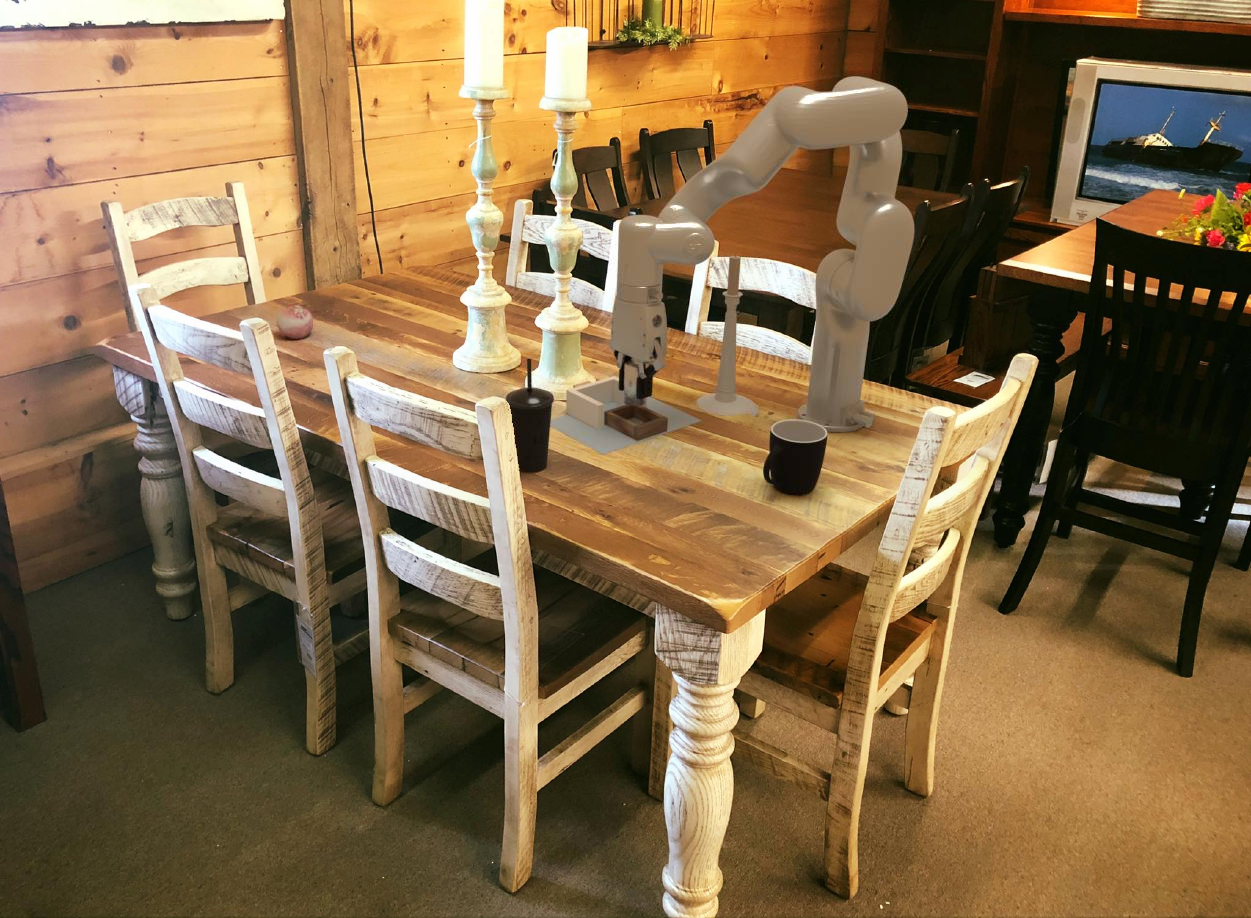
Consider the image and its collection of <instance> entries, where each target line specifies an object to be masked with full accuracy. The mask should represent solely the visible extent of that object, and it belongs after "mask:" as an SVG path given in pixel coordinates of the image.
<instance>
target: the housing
mask: <svg viewBox="0 0 1251 918" xmlns="http://www.w3.org/2000/svg"><path fill="white" fill-rule="evenodd" d="M572 386H573V387H571V388H568V389H566V391H565V392H566V393H565V394H566V395H565V396H566V401H565V402H566V405H565V407H566V408H565V409H566V414H570V415H572V416H574V417H575V418H577V419H579V420H581V421H583V422H585V423H587V424H589V425H591V426H593V427H595V428H597V429H601V428H604V404H608V403H611V402H615V403H617V404H620V405H622V406H624V405H627V404H625V403H624V402H623V398H624V391H620V390H619V376H616V375H614V376H613V375H612V376H610V377H606V378H603V379H598V380H596V381H590V380H586V381H584V382H580V383H576V384H573V385H572ZM642 406H644V407H646V408H647V397H646V403H645V404H644V405H642Z"/></svg>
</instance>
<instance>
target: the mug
mask: <svg viewBox="0 0 1251 918" xmlns="http://www.w3.org/2000/svg"><path fill="white" fill-rule="evenodd" d="M827 441H828V431H826V429H825V428H824V427H822V426H821V425H819V424H817V423H814V422H811V421H806V420H799V419H797V418H796V419H795V418H794V419H793V418H791V419H784V420H779V421H776V422H774V423H773V424H772V425H771V427H770V431H769V444H768V445H769V452H768V455H767V456H766V458H765V461H764V463H763V467H762V474H763V478H764V481H766V483H767V484H769V485H772V486H773V487H774V489H775V490H776V491H777V492H779V493H780V494H783V495H786V496H791V497H792V496H793V497H801V496H802V497H803V496H806V495H809V494H811V493H812V492H813V491H814V490H815V488H816V486H817V483H818V481H819V478H820V475H821V473H822V468H823V463H824V460H825V454H826V449H827V443H828V442H827Z"/></svg>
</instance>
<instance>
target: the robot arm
mask: <svg viewBox="0 0 1251 918" xmlns="http://www.w3.org/2000/svg"><path fill="white" fill-rule="evenodd" d="M908 107H909V106H908V103H907V99H906V97H905V95H904V94H903V92H902V91H901V90H900V89H898V88H897V87H896V86H894V85H891V84H889V83H886V82H882V81H878V80H875V79H873V78H869V77H863V76H848V77H844V78H843V79H841V80H839V81H838V82H837V83H836V84H835V85H834V87H833V88H832V91H816V90H813V89H810V88H808V87H803V86H798V85H790V86H785V87H783V88H782V89H781V90H779V91H777V92H776V93H775V94H774V96H773V97H771V99H769V101H768V102H767V103H766V104H765V106H764V107H763V108H762V109H761V110H760V112H758V114H756V116H755V117H754V118H753V120H751V122H750V123H749V125H747V127H746V128H745V129H744V130H743V131H742V132H741V133H740V135H739V136H738V137H737V138H736V140H734V142H733V143H732V144H731V145H730V146H729V148H727V150H725V152H723V153H722V155H720V156H719V157H717V158H715V159H714V160H713V161H711V162H710V163H709V164H707V165H706V166H705V167H704V168H703V169H701V170H699V171H698V172H697V173H695V174H694V175H693V176H692V177H690V178H689V180H687V181H686V182H685V183H684V184H682V186H681V187H680V188H679V189H678V191H677V192H676V193H675V194H674V195H673V197H672V198H671V199H670V200H669V201H668V203H666V205H665V206H664V207H663V209H662V210H661V212H660V213H659V215H658V217H657V216H653V215H646V214H633V215H628V216H625V217H624V218H622V219H621V220H620V222H619V225H618V236H617V237H618V241H617V247H618V248H617V267H616V268H617V270H616V271H617V273H616V279H617V280H616V295H615V298H614V302H613V308H612V314H611V315H612V316H611V325H610V339H609V341H608V344H607V345H608V347H609V349H610V350H611V351H612V352H613V355H614V357H615V359H616V366H617V367H616V368H618V378H619V390H620V391H624V369H625V362H627V361H630V360H638V363H639V374H640V377H637V389H636V398H637V399H643V398H646V397H652V396H653V383H654V381H653V380H654V376H656V374H657V373H658V372H659V371H660V370H662V369H664V368H666V367H667V362H666V359H665V358H666V356H667V353H668V352H667V351H668V326H667V325H668V324H667V314H666V307H665V303H664V302H663V301H662V299H663V297H664V293H663V292H662V291H663V273H664V272H663V270H664V263H665V264H671V265H672V264H674V265H681V266H694V265H695V266H696V265H699V264H702V263H703V262H705V261H707V260H708V259H709V258H710V257H711V255H712V254H713V252H714V249H715V242H716V239H715V236H714V234H713V232H712V229H710V227H709V226H708V225H707V224H706V222H707V221H708V220H709V219H710V218H711V217H712V216H713V215H714V214H715V213H716V212H717V211H718V210H719V209H720V208H722V207H723V206H724V205H726V204H727V203H728V202H730V201H733V200H735V199H737V198H741V197H743V196H748V195H752V194H754V193H757V192H759V191H760V190H762V189H763V188H765V187H766V186H767V185H768V184H769V183H770V181H771V180H772V179H773V178H774V177H775V175H776V174H778V172H779V171H780V170H781V168H782V167H783V166H784V165H785V164H786V163H787V162H788V160H790V158H791V157H792V156H793V155H794V154H795V153H796V152H797V151H798V149H800V148H803V149H807V150H824V149H834V148H842V147H849V162H848V167H847V172H846V173H847V174H846V177H845V181H844V186H843V189H842V194H841V198H840V202H839V207H838V210H837V215H836V227H837V231H838V233H839V234H840V235H841V236H842V237H843V239H845V240H846V241H848V242H849V243H850V244H852V245H854V246H855V248H856V249H850V248H839V249H836V250H833V251H831V252H830V253H828V254H827V255H826V256H825V257H824V258H822V261H821V262H820V264H819V265H818V268H817V270H816V274H815V283H814V285H815V286H814V288H815V290H814V291H815V303H816V304H815V307H816V309H815V327H814V336H813V343H812V344H813V345H812V355H811V362H810V363H811V364H810V371H809V372H810V373H809V380H808V381H809V382H808V391H807V400H806V401H807V402H806V403H804V404H802V405H801V406H799V408H798V409H797V418H798V420H806V421H811V422H814V423H817V424H819V425H821V426H822V427H824V428H825V429H826V431H827V433H828V432H829V433H830V432H831V433H849V432H854V431H857V430H860V429H862V428H867V429H868V428H870V427H871V426H872V424H873V421H874V419H875V417H876V416H875V415H876V414H875V413H873V412H871V411H867V410H866V409H865V404H866V401H865V400H862V399H861V397H862V391H863V390H862V389H863V383H864V382H863V381H864V373H865V366H866V359H867V358H866V357H867V352H868V351H867V350H868V342H869V335H870V324H871V323H870V322H874V321H877V320H879V319H882V318H884V317H885V316H886V315H888V313H889V312H890V311H891V310H892V309H893V307H894V306H895V304H896V302H897V299H898V297H899V294H900V292H901V289H902V284H903V281H904V278H905V273H906V270H907V266H908V264H909V263H908V262H909V259H910V255H911V252H912V248H913V245H914V244H913V243H914V239H915V222H914V219H913V218H914V217H913V215H912V212H911V211H910V209H909V208H908V207H907V206H906V205H905V204H904V203H903V202H901V201H900V200H897V198H896V191H897V187H898V183H899V182H898V181H899V177H900V172H901V166H902V158H903V143H902V135H901V132H900V130H901V129H902V127H903V126H904V125H905V122H906V120H907V117H908V112H909V110H908V109H909V108H908ZM645 363H647V364H648V367H647V368H646V364H645Z"/></svg>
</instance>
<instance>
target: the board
mask: <svg viewBox="0 0 1251 918" xmlns="http://www.w3.org/2000/svg"><path fill="white" fill-rule="evenodd" d="M620 406H622V405H620V404H617V403H615V402H611V403H608V404H604V411H608V410H611V409H614V408H617V407H620ZM647 408H648V409H650V410H652V411H654V412H656V413H658V414H661V415H663V416H665V417H667V418H668V427H667V431H666V432H663V433H660V434H657V435H654V436H651V437H648V438H645V439H642V440H639V441H636V440H634V439H632V438H630V437H628V436H626V435H624V434H622V433H620V432H618V431H616V430H614V429H613V428H611V427H609V426H607V425H605V424H604V428H601V429H597V428H595V427H593V426H591V425H589V424H587V423H585V422H583V421H581V420H579V419H577V418H575V417H574V416H572V415H570V414H568V413H566V414H564V415H560V416H557V417H555V418H551V422H550V428H553V429H555V430H557V431H559V432H560V433H563V434H564V435H566V436H567V437H570V438H571V439H573V440H575V441H578V442H579V443H581V444H583V445H585V446H586V447H587V448H590V449H592V450H594V451H596V452H597V453H599V454H602V455H606V454H610V453H613V452H616V451H619V450H622V449H624V448H627V447H630V446H633V445H636V444H639V443H641V442H645V441H647V440H650V439H653V438H656V437H659V436H662V435H664V434H668V433H670V432H673V431H676V430H680V429H682V428H686V427H688V426H691V425H694V424H696V423H700V422H702V420H701V419H699V418H697V417H695V416H693V415H691V414H689V413H686V412H685V411H682V410H679V409H677V408H676V407H673V406H671V405H668V404H667V403H665V402H663V401H660V400H658V399H656V398H654V397H652V396H650V397H647ZM627 420H629V421H631V422H633V423H635V424H637V425H640V424H643V423H644V422H642V421H640V420H638V419H636V418H631V419H627Z"/></svg>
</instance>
